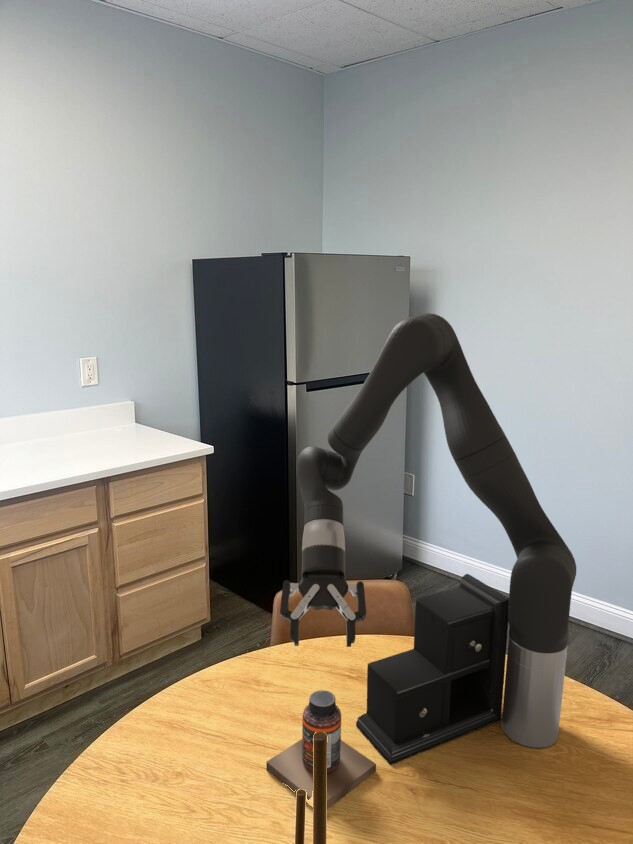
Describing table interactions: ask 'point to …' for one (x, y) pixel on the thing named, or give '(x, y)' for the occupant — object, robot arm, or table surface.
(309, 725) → the supplement bottle
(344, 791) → the brown flat square block
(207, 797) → the table surface
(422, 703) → the black drawer cabinet
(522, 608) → the robot arm
